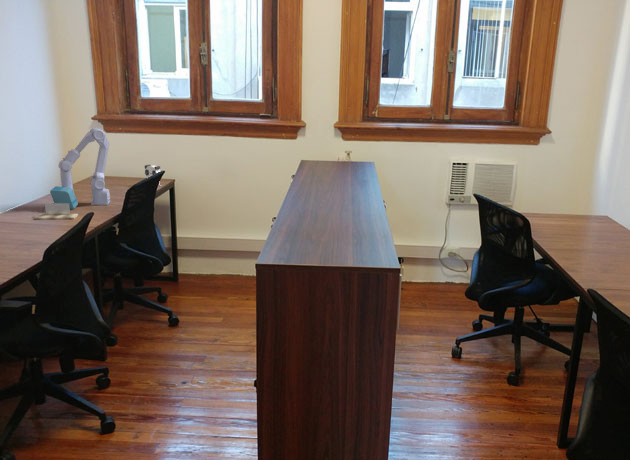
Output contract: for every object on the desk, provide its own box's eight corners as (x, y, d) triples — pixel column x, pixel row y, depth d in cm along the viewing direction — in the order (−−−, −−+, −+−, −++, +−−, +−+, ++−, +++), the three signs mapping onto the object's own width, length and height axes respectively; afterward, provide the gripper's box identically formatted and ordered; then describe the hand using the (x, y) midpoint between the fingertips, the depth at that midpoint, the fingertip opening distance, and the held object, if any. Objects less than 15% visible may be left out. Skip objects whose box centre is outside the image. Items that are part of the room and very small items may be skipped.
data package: (78, 205, 319) (72, 187, 312) (74, 209, 315) (67, 191, 309) (60, 204, 322) (53, 186, 315) (56, 208, 318) (49, 190, 311)
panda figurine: (141, 187, 375) (139, 165, 371) (154, 184, 384) (153, 163, 380) (153, 190, 369) (152, 167, 365) (166, 187, 378) (165, 165, 374)
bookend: (78, 215, 304) (76, 202, 302) (73, 219, 297) (72, 206, 295) (39, 215, 302) (37, 203, 300) (34, 219, 294) (32, 206, 292)
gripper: (63, 178, 324) (65, 201, 328) (55, 183, 310) (57, 207, 314) (75, 178, 325) (78, 201, 329) (68, 183, 311) (70, 207, 315)
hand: (69, 204), depth 321 cm, fingers closed
